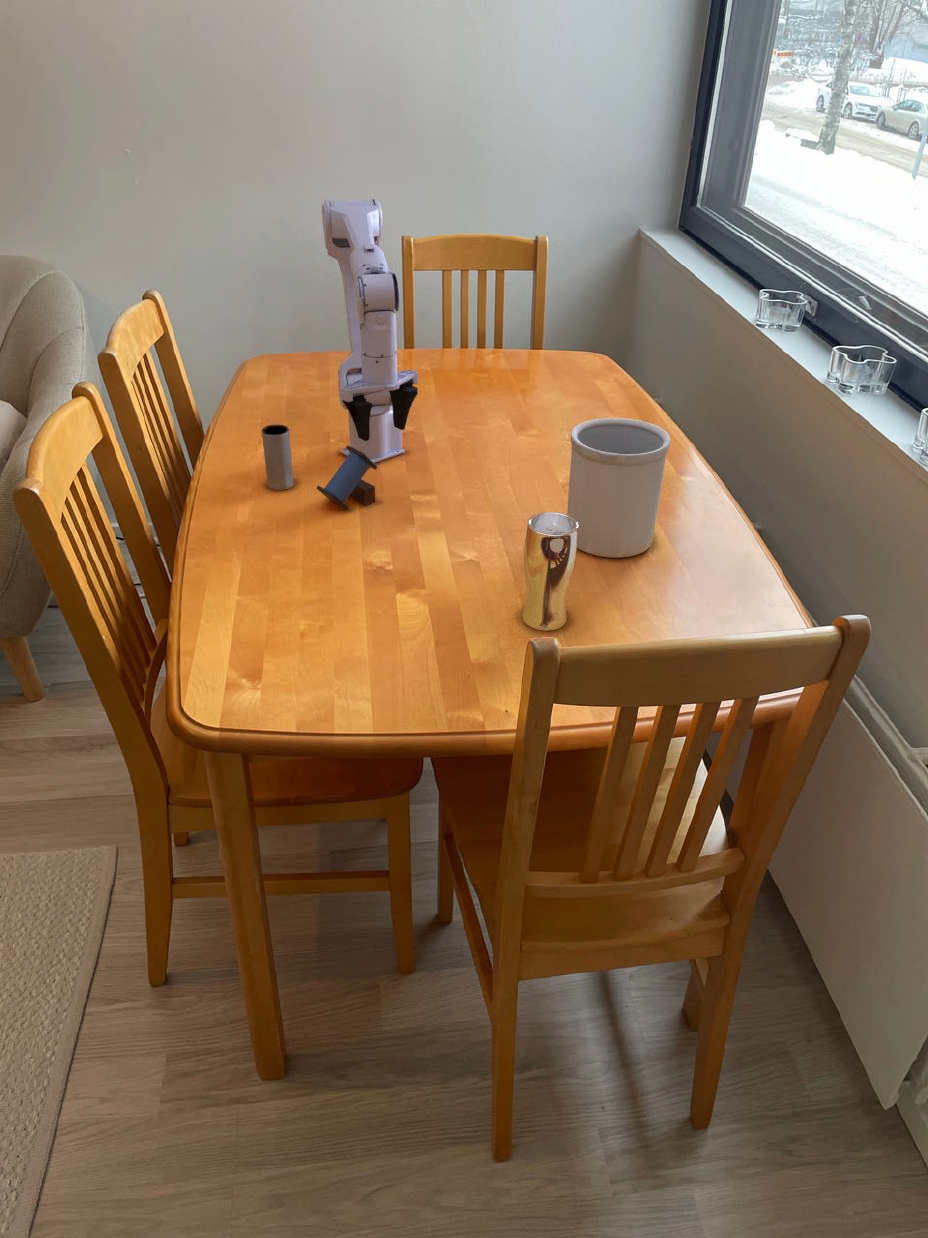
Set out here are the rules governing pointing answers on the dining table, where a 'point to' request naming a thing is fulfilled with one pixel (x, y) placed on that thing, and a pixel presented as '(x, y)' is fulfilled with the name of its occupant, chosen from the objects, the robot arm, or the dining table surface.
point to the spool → (347, 477)
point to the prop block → (363, 493)
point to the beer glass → (549, 568)
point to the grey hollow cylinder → (278, 457)
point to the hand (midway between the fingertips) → (381, 433)
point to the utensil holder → (616, 484)
